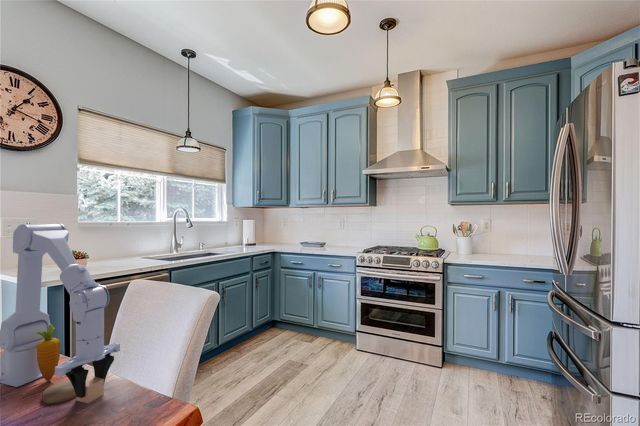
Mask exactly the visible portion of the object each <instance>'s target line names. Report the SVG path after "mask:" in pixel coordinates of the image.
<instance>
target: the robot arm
mask: <svg viewBox="0 0 640 426" xmlns="http://www.w3.org/2000/svg"><path fill="white" fill-rule="evenodd" d="M68 242H69V231H68V229H67V227H66V226H65V225H64V223H50V224H49V223H48V224H47V223H45V224H44V223H43V224H42V223H41V224H27V223H26V224H25V223H21V224H19V225H18V226H17V227H16V228H15V229H14V230H13V234H12V253H14V254H18V255H17V271H16V272H17V273H16V274H17V275H16V276H17V278H16V295H15V296H16V297H15V312H13V313H12V314H11V315H9V316H8V317H6V318H5V319H3V320H2V321H1V323H0V349H2V350H3V351H2V353H1V354H0V384H4V385H7V386H12V387H13V388H14V387H15V388H18V387H21V386H22V385H25V384H27V383H30V382H33V381H35V380H37V379H40V378H44V377H43V376H42V374H41V372H40V369H39V366H38V362H37V344H38V343H39V342H40V341H42V340H44V338H43V336H41V335H40V334H37V332H38V331H40V332H43V331H44V330H45V331H46V332H47V334H48V332H49V325H52V324H51V321H50V314H48V313H47V312H46V311H44V310H41V293H42V273H43V257H44V256H45V255H46V254H48V256H49V257H50V258H51V259H52V261H53V262H54V263H55V264H56V266H57V267H58V268H59V269H60V271H61V272H60V274H59V279H60V281H61V283H62V285H63V286H64V288H65V289H66V291H67V293H68V294H69V296H70V301H69V308H70V311H71V312H72V319H73V321H74V322H75V355H74V356H73V357H71V358H69V359H68V360H65V361H64V362H63V363H61V364H58V366H56V367H55V373H54V376H57V377H63V376H66V377H67V378H68V379H67V380H70V382H71V383H72V385H73V388H74V391H75V394H76V396H75V398H76V397H79V398H83V397H85V393H86V379H88V375H89V371H90V370H89V369H86V368H85V367H84V366H85V365H88V364H89V363H92V366H93V373H94V377H97V378H102V379H104V384H105V382H106V379H107V375H108V372H109V370H110V368H111V366H112V365H113V362H114V361H115V355H111V354H113V353H117V352H120V351H121V344H120V343H117V342H113V343H110V344H107V345H105V308H107V307H108V306H109V304H110V300H111V299H110V293H109V290H108V288H107V287H106V286H105V285H102V284H100V283H99V282H96V281H95V279H94V278H93V275H91V272H90V271H89V270H88V269H87V266H85V265H83V264H78V262H77V260H76V258H75V256H74V254H73V252H72V250H71V247H70V246H69V244H68Z"/></svg>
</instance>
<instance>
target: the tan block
mask: <svg viewBox="0 0 640 426" xmlns="http://www.w3.org/2000/svg"><path fill="white" fill-rule="evenodd" d="M104 395H105V383H104V379H102V378H97V377H95V376H90V377H89V378H88V377H87V379H86V393H85V397H83V398H79V397H76V396H75V400H76V402H80V403H85V404H89V403H91V402H93V401H94V400H96V399H98V398H101V397H102V396H104Z"/></svg>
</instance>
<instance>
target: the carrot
mask: <svg viewBox="0 0 640 426" xmlns="http://www.w3.org/2000/svg"><path fill="white" fill-rule="evenodd" d="M55 330H56V328H55V327H54V324H51V325H49V332H48V334H47V332H46V331H45V330H44V331H43V332H40V331H38V332H37V334H40V335H41V336H43V338H44V340H42V341H40V342H39V343H38V344H37V362H38V366H39V369H40V372H41V374H42V376H43V377H42V378H44V380H45V381H46V382H50V381H51V380H52V379H53V377H54V376H55V367H56V366H58V365H59V360H60V354H61V341H60V339H59V338H57V337H53V334H54V332H55Z"/></svg>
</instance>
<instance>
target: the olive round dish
mask: <svg viewBox="0 0 640 426" xmlns="http://www.w3.org/2000/svg"><path fill="white" fill-rule="evenodd" d="M73 398H76V394H75V391H74V388H73V385H72V383H71V382H70V380H69V379H67V380H62V381H60V382H56V383H54V384H51V385H50V386H48V387H47V388H45V389H44V390H43V392H42V401H43V403H45V404H57V403H62V402H66V401H69V400H71V399H73Z"/></svg>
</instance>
